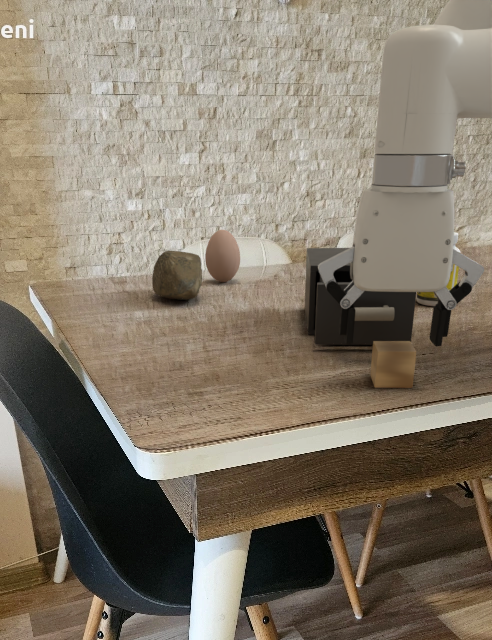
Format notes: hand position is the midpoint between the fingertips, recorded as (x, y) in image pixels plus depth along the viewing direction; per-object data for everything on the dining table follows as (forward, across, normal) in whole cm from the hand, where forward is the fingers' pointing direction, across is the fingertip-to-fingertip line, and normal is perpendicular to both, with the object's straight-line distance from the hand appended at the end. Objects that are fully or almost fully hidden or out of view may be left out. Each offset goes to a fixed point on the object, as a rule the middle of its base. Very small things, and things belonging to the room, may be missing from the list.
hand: (391, 342), depth 74 cm
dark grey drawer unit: (+4, +2, -28) cm, 29 cm away
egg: (+5, +24, -59) cm, 64 cm away
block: (+5, 0, 0) cm, 5 cm away
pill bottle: (+4, -14, -40) cm, 43 cm away
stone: (+5, +30, -45) cm, 55 cm away
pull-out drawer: (+4, +2, -17) cm, 18 cm away
